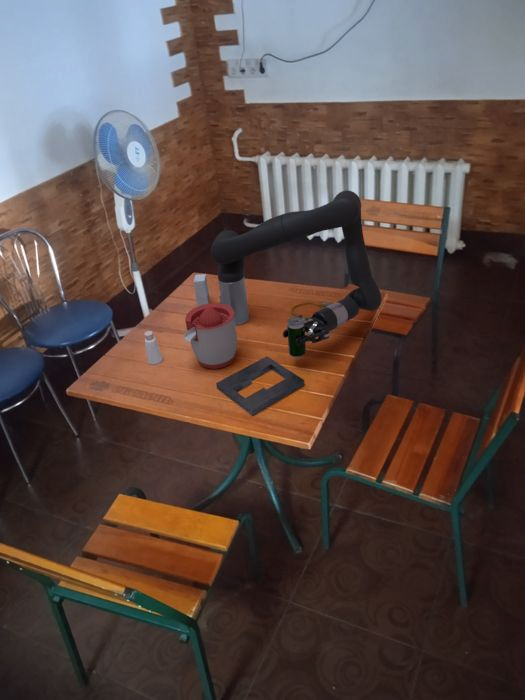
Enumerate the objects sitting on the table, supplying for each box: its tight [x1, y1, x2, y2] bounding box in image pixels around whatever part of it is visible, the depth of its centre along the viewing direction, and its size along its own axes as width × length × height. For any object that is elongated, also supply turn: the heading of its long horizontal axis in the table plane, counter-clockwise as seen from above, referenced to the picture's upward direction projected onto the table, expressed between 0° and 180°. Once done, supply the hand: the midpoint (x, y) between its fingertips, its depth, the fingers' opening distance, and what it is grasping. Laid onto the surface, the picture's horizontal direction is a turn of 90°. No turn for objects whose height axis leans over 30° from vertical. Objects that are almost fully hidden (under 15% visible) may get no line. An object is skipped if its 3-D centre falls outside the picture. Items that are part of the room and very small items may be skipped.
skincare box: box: [193, 273, 211, 307], centre depth 213 cm, size 6×4×12 cm
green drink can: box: [286, 316, 307, 359], centre depth 172 cm, size 5×5×12 cm
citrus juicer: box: [183, 302, 238, 370], centre depth 179 cm, size 16×17×20 cm
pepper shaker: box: [143, 330, 164, 366], centre depth 185 cm, size 5×5×11 cm
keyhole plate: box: [215, 356, 305, 417], centre depth 170 cm, size 20×18×2 cm
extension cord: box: [290, 301, 335, 319], centre depth 205 cm, size 12×16×2 cm
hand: (290, 338), depth 171 cm, fingers closed on green drink can, 5 cm apart
